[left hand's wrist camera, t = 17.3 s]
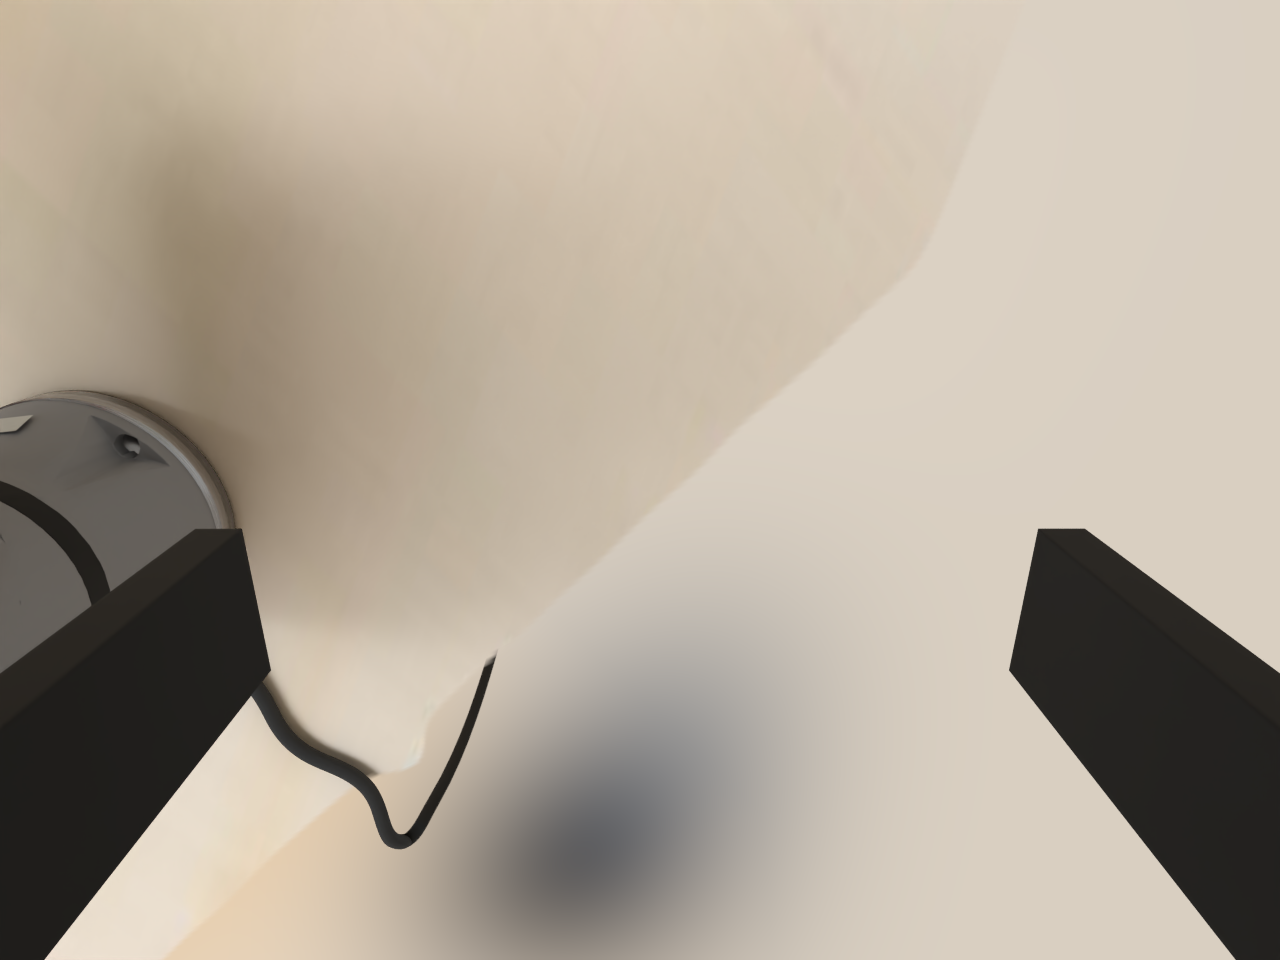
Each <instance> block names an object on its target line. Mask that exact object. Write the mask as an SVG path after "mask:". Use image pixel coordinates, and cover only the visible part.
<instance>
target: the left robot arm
mask: <svg viewBox="0 0 1280 960" xmlns="http://www.w3.org/2000/svg"><path fill="white" fill-rule="evenodd" d="M496 656H497V654H496V655H495V656H494V657H492V658H491V659H489V660H488V661H487V662H486V664H485V665H484V668H483V671H482V674H481V677H480V680H479V683H478V686H477V689H476V693H475V695H474V698H473V701H472V704H471V707H470V710H469V713H468V715H467V718H466V720H465V723H464V726H463V728H462V731H461V733H460V736H459V738H458V740H457V743H456V745H455V747H454V750H453V752H452V754H451V756H450V758H449V761H448V763H447V765H446V767H445V769H444V771H443V773H442V775H441V777H440V779H439V780H438V782H437V784H436V786H435V787H434V789H433V791H432V793H431V795H430V796H429V798H428V800H427V802H426V803H425V805H424V807H423V809H422V810H421V812H420V814H419V816H418V818H417V819H416V821H415V823H414V824H413V826H412V827H411V828H410V829H409V830H408V831H407V832H406V833H405V834H397V833H396V832H395V831H394V829H393V827H392V825H391V822H390V819H389V816H388V812H387V809H386V806H385V803H384V801H383V798H382V796H381V794H380V792H379V791H378V789H377V787H376V786H375V784H374V783H373V782H372V781H371V780H370V779H369V778H368V777H367V776H366V775H365V774H363V773H362V772H361V771H359V770H358V769H356V768H355V767H353V766H351V765H349V764H347V763H345V762H343V761H341V760H339V759H336V758H334V757H332V756H329V755H327V754H325V753H322V752H320V751H318V750H316V749H314V748H313V747H311V746H309V745H308V744H306V743H305V742H304V741H302V740H301V739H300V738H299V737H298V736H297V735H296V734H295V733H294V732H293V731H292V730H291V729H290V727H289V726H288V725H287V723H286V722H285V720H284V719H283V717H282V715H281V713H280V711H279V709H278V707H277V705H276V703H275V702H274V700H273V698H272V696H271V694H270V693H269V691H268V690H267V688H266V687H265V685H264V684H263V683H262V681H263V680H264V678H265V677H266V676H267V675H268V673H269V672H270V671H271V668H270V663H269V659H268V654H267V649H266V644H265V639H264V634H263V629H262V625H261V620H260V615H259V610H258V605H257V600H256V595H255V591H254V586H253V581H252V576H251V571H250V566H249V562H248V557H247V552H246V547H245V542H244V537H243V532H242V529H235V523H234V518H233V513H232V509H231V505H230V502H229V499H228V497H227V494H226V491H225V489H224V487H223V485H222V483H221V481H220V479H219V478H218V476H217V474H216V473H215V471H214V469H213V468H212V466H211V465H210V464H209V462H208V461H207V460H206V458H205V457H204V456H203V455H202V453H201V452H200V451H199V450H198V449H197V448H196V447H195V446H194V445H193V444H192V443H191V442H190V441H189V440H188V439H187V438H186V437H185V436H184V435H183V434H182V433H180V432H179V431H178V430H177V429H176V428H174V427H173V426H172V425H170V424H169V423H167V422H166V421H164V420H163V419H161V418H160V417H158V416H156V415H155V414H153V413H151V412H150V411H148V410H146V409H144V408H142V407H140V406H138V405H135V404H133V403H130V402H128V401H125V400H122V399H119V398H116V397H112V396H109V395H104V394H99V393H93V392H86V391H57V392H51V393H45V394H41V395H37V396H34V397H30V398H27V399H24V400H21V401H18V402H15V403H12V404H9V405H6V406H4V407H1V408H0V960H44V959H45V958H46V957H47V956H48V954H49V953H50V952H51V950H52V949H53V948H54V947H55V945H56V944H57V943H58V942H59V940H60V939H61V938H62V936H63V935H64V934H65V933H66V931H67V930H68V929H69V927H70V926H71V925H72V924H73V922H74V921H75V920H76V919H77V917H78V916H79V915H80V913H81V912H82V911H83V910H84V908H85V907H86V906H87V905H88V903H89V902H90V901H91V899H92V898H93V897H94V896H95V894H96V893H97V892H98V890H99V889H100V888H101V887H102V885H103V884H104V883H105V882H106V880H107V879H108V878H109V876H110V875H111V874H112V873H113V871H114V870H115V869H116V867H117V866H118V865H119V864H120V862H121V861H122V860H123V859H124V857H125V856H126V855H127V853H128V852H129V851H130V850H131V848H132V847H133V846H134V844H135V843H136V842H137V841H138V839H139V838H140V837H141V836H142V834H143V833H144V832H145V830H146V829H147V828H148V827H149V825H150V824H151V823H152V821H153V820H154V819H155V818H156V816H157V815H158V814H159V813H160V811H161V810H162V809H163V807H164V806H165V805H166V804H167V802H168V801H169V800H170V799H171V797H172V796H173V795H174V793H175V792H176V791H177V790H178V788H179V787H180V786H181V784H182V783H183V782H184V781H185V779H186V778H187V777H188V776H189V774H190V773H191V772H192V770H193V769H194V768H195V767H196V765H197V764H198V763H199V761H200V760H201V759H202V758H203V756H204V755H205V754H206V753H207V751H208V750H209V749H210V747H211V746H212V745H213V744H214V742H215V741H216V740H217V738H218V737H219V736H220V735H221V733H222V732H223V731H224V730H225V728H226V727H227V726H228V724H229V723H230V722H231V721H232V719H233V718H234V717H235V716H236V714H237V713H238V712H239V710H240V709H241V708H242V707H243V705H244V704H245V703H246V701H247V700H248V699H249V698H250V696H252V697H253V699H254V700H255V702H256V703H257V705H258V707H259V708H260V710H261V712H262V714H263V716H264V718H265V720H266V722H267V724H268V725H269V727H270V729H271V730H272V732H273V733H274V735H275V736H276V738H277V739H278V740H279V741H280V742H281V743H282V745H283V746H284V747H285V748H287V749H288V750H289V751H290V752H291V753H292V754H294V755H295V756H297V757H298V758H300V759H301V760H303V761H305V762H306V763H308V764H310V765H312V766H315V767H317V768H319V769H321V770H324V771H326V772H329V773H331V774H333V775H336V776H338V777H340V778H342V779H344V780H345V781H347V782H349V783H350V784H352V785H353V786H354V787H355V788H357V789H358V790H359V791H360V792H361V793H362V794H363V796H364V797H365V799H366V800H367V802H368V804H369V806H370V808H371V811H372V814H373V817H374V820H375V824H376V827H377V829H378V832H379V835H380V837H381V839H382V840H383V842H384V843H385V844H386V845H387V846H389V847H391V848H394V849H404V848H407V847H409V846H411V845H412V844H414V843H415V842H416V841H417V840H418V839H419V838H420V836H421V835H422V834H423V832H424V831H425V829H426V827H427V825H428V824H429V822H430V820H431V818H432V816H433V814H434V812H435V810H436V809H437V807H438V805H439V803H440V801H441V799H442V797H443V796H444V794H445V792H446V790H447V788H448V786H449V784H450V782H451V780H452V778H453V776H454V774H455V772H456V769H457V767H458V765H459V763H460V761H461V758H462V756H463V753H464V751H465V748H466V746H467V744H468V741H469V739H470V736H471V733H472V730H473V728H474V725H475V722H476V719H477V716H478V714H479V711H480V708H481V705H482V702H483V699H484V695H485V692H486V689H487V686H488V682H489V679H490V676H491V673H492V669H493V666H494V662H495V659H496ZM1009 671H1010V672H1011V673H1012V675H1013V676H1014V677H1015V678H1016V680H1017V681H1018V682H1019V684H1020V685H1021V686H1022V687H1023V689H1024V690H1025V691H1026V693H1027V694H1028V695H1029V696H1030V698H1031V699H1032V700H1033V701H1034V703H1035V704H1036V705H1037V707H1038V708H1039V709H1040V710H1041V712H1042V713H1043V714H1044V716H1045V717H1046V718H1047V719H1048V720H1049V722H1050V723H1051V724H1052V726H1053V727H1054V728H1055V730H1056V731H1057V732H1058V733H1059V735H1060V736H1061V737H1062V738H1063V740H1064V741H1065V742H1066V744H1067V745H1068V746H1069V747H1070V749H1071V750H1072V751H1073V753H1074V754H1075V755H1076V756H1077V758H1078V759H1079V760H1080V761H1081V763H1082V764H1083V765H1084V767H1085V768H1086V769H1087V770H1088V772H1089V773H1090V774H1091V776H1092V777H1093V778H1094V779H1095V781H1096V782H1097V783H1098V784H1099V786H1100V787H1101V788H1102V790H1103V791H1104V792H1105V793H1106V795H1107V796H1108V797H1109V799H1110V800H1111V801H1112V802H1113V804H1114V805H1115V806H1116V807H1117V809H1118V810H1119V811H1120V812H1121V814H1122V815H1123V816H1124V818H1125V819H1126V820H1127V822H1128V823H1129V824H1130V825H1131V827H1132V828H1133V829H1134V830H1135V832H1136V833H1137V834H1138V836H1139V837H1140V838H1141V839H1142V841H1143V842H1144V843H1145V844H1146V846H1147V847H1148V848H1149V850H1150V851H1151V852H1152V853H1153V855H1154V856H1155V857H1156V859H1157V860H1158V861H1159V862H1160V864H1161V865H1162V866H1163V867H1164V869H1165V870H1166V871H1167V873H1168V874H1169V875H1170V876H1171V878H1172V879H1173V880H1174V882H1175V883H1176V884H1177V885H1178V887H1179V888H1180V889H1181V890H1182V892H1183V893H1184V894H1185V896H1186V897H1187V898H1188V899H1189V901H1190V902H1191V903H1192V905H1193V906H1194V907H1195V908H1196V910H1197V911H1198V912H1199V913H1200V915H1201V916H1202V917H1203V919H1204V920H1205V921H1206V922H1207V924H1208V925H1209V926H1210V927H1211V929H1212V930H1213V931H1214V933H1215V934H1216V935H1217V936H1218V938H1219V939H1220V940H1221V942H1222V943H1223V944H1224V945H1225V947H1226V948H1227V949H1228V950H1229V952H1230V953H1231V954H1232V956H1233V957H1234V958H1235V959H1236V960H1280V673H1279V672H1277V671H1276V670H1275V669H1273V668H1272V667H1270V666H1269V665H1268V664H1266V663H1265V662H1264V661H1262V660H1261V659H1260V658H1258V657H1257V656H1256V655H1254V654H1253V653H1252V652H1250V651H1249V650H1248V649H1246V648H1245V647H1243V646H1242V645H1241V644H1239V643H1238V642H1237V641H1235V640H1234V639H1233V638H1231V637H1230V636H1229V635H1227V634H1226V633H1225V632H1223V631H1222V630H1221V629H1219V628H1218V627H1217V626H1215V625H1214V624H1213V623H1211V622H1210V621H1208V620H1207V619H1206V618H1204V617H1203V616H1202V615H1200V614H1199V613H1198V612H1196V611H1195V610H1194V609H1192V608H1191V607H1190V606H1188V605H1187V604H1186V603H1184V602H1183V601H1182V600H1180V599H1179V598H1177V597H1176V596H1175V595H1173V594H1172V593H1171V592H1169V591H1168V590H1167V589H1165V588H1164V587H1163V586H1161V585H1160V584H1159V583H1157V582H1156V581H1155V580H1153V579H1152V578H1150V577H1149V576H1148V575H1146V574H1145V573H1144V572H1142V571H1141V570H1140V569H1138V568H1137V567H1136V566H1134V565H1133V564H1132V563H1130V562H1129V561H1128V560H1126V559H1125V558H1123V557H1122V556H1121V555H1119V554H1118V553H1117V552H1115V551H1114V550H1113V549H1111V548H1110V547H1109V546H1107V545H1106V544H1105V543H1103V542H1102V541H1101V540H1099V539H1098V538H1097V537H1095V536H1094V535H1092V534H1091V533H1090V532H1088V531H1087V530H1086V529H1038V532H1037V537H1036V542H1035V547H1034V552H1033V557H1032V562H1031V567H1030V571H1029V576H1028V581H1027V586H1026V591H1025V596H1024V600H1023V605H1022V610H1021V615H1020V620H1019V625H1018V629H1017V634H1016V639H1015V644H1014V649H1013V654H1012V659H1011V663H1010V668H1009Z"/></svg>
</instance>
